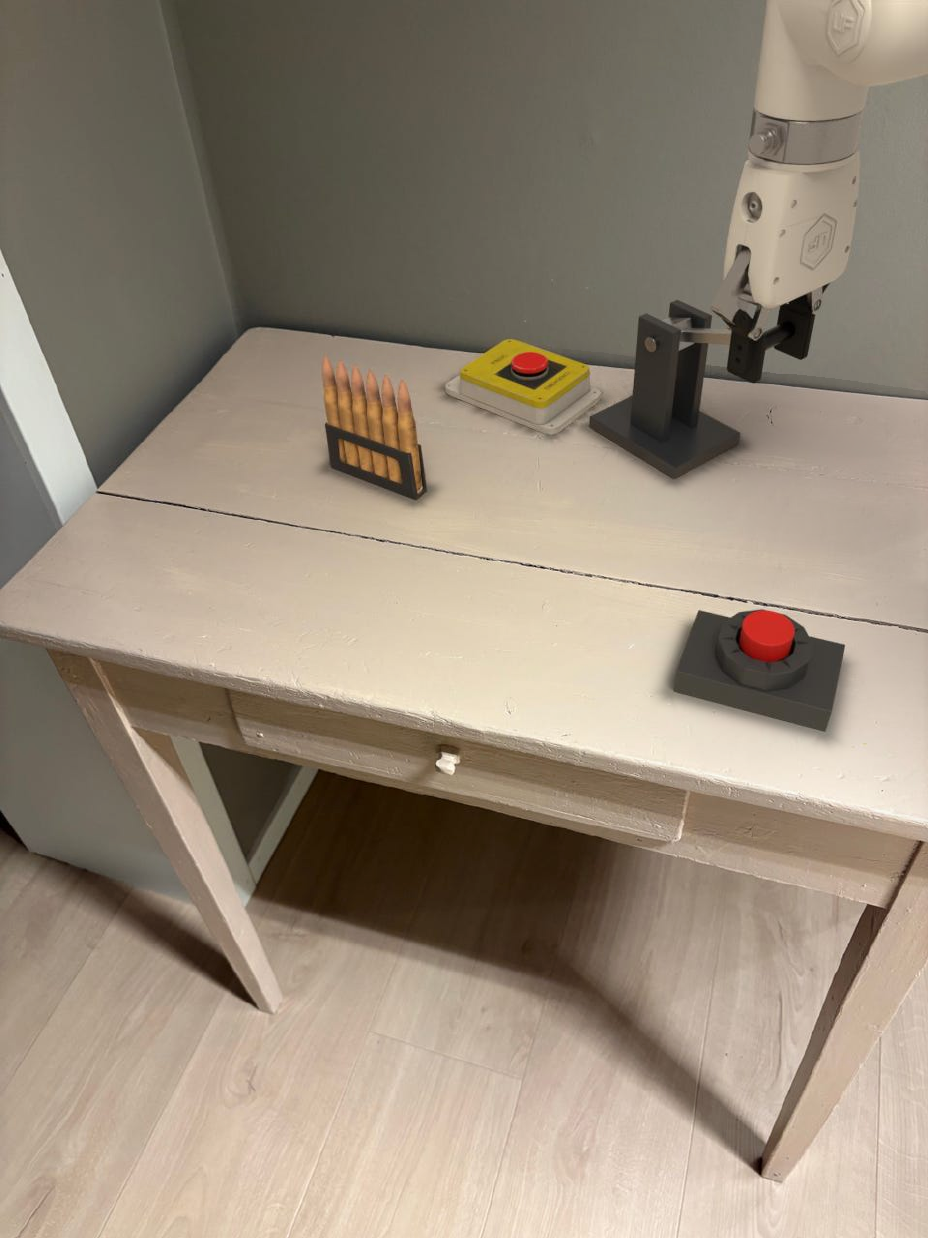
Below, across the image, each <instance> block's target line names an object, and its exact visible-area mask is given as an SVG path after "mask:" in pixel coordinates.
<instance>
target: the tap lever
mask: <svg viewBox="0 0 928 1238" xmlns="http://www.w3.org/2000/svg"><path fill="white" fill-rule="evenodd" d="M668 317H669V316H668ZM668 317H667V318H664V319H662V320H661V321H663V322H665V323H668V324H670V325H672V326H674V327H676V328H678V329H680V330H681V335H680V344H679V351H680V350H682V349H684V348H686V347H688V346H690V345H692V344H694V343H708V345H709V344H711V345H726V346H730V339H731V330H729V329H728V328H726V329H725V328H711V329H707V328H692V322H691V318H677V317H669V318H668ZM794 334H795V327H794V325H793V324H792V323H791V322H789V321H786V322H783V323H781V324H779V325H777V324H776V325H775V326H773V327H771V328H769V329H767V330H764V331H763V334H762V336H764V337H767V344H766V350H765V352H766V351H767V350H770V349H772V348H774V346H776V345H778V344H780V343H782V342H784V341H786V340H788V339H790V338H792V337H793V336H794Z"/></svg>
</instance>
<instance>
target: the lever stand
mask: <svg viewBox="0 0 928 1238" xmlns="http://www.w3.org/2000/svg"><path fill="white" fill-rule="evenodd" d="M668 307H669V309H668V317H667V318H669V317H677V318H691V322H692V328H707V329H712V328H711V327H712V321H713V315H712V314H709V313H708V312H705V311H703V310H701V309H699V308H697V307H695V306H692V305H690V304H688V303H686V302H684V301H681V300H679V299H675V300H673V301H671V302H669V306H668ZM680 335H681V330H680V329H678V328H676V327H674V326H672V325H670V324H668V323H665V322H663V321H662V320H661V319H660V318H657V317H655V316H652V315H651V314H649V313H647V312H646V313H643V314H641V315H639V316H638V320H637V334H636V347H635V360H634V372H633V374H634V375H633V384H632V395H631V396H629V397H626V398H624V399H622V400H620V401H618V402H615V403H614V404H612V405H609V406H608V407H605V408H604V409H602V410H600V411H598V412H595V413H593V414H591V415H589V419H588V420H589V422H588V427H589V428H590V429H592V430H593V431H595V432H597V433H598V434H600V435H601V436H603V437H605V438H606V439H608V440H610V441H611V442H613V443H615V444H616V445H618V446H619V447H621V448H622V449H624V450H626V451H627V452H629V453H631V454H632V455H634V456H635V457H637V458H639V459H641V460H643V461H644V462H646V464H649V465H651V466H652V467H654V468H656V469H657V470H658V471H660V472H662V473H663V474H665V475H667V476H669V477H670V478H672V480H673V479H674V480H675V479H677V478H679V477H681V476H683V475H685V474H686V473H688V472H690V471H692V470H694V469H696V468H698V467H699V466H701V465H703V464H704V463H706V462H709V461H710V460H712V459H715V457H717V456H719V455H722V454H723V453H725V452H726V451H729V450H731V449H732V448H734V447H735V446H737V445H739V444H740V441H741V431H738V430H736V429H735V428H733V427H731V426H729V425H727V424H725V423H723V422H721V421H719V420H718V419H716V418H715V417H712V416H711V415H709V414H707V413H705V412H703V411H701V410H700V409H701V404H702V403H701V402H702V395H703V387H704V380H705V372H706V365H707V357H708V351H709V344H708V343H694V344H692V345H690V346H688V347H686V348H684V349H682V350H680V351H679V344H680Z"/></svg>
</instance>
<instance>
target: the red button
mask: <svg viewBox="0 0 928 1238" xmlns="http://www.w3.org/2000/svg"><path fill="white" fill-rule="evenodd" d="M782 614H783V613H780V612H778V611H773V610H767V609H763V611H756V612H753V613H751V614H749V615H748V616H747V617H746V618H745V619H744V621H743V625H742V630H741V635H740V640H739V643H740V647H741V649H742V650H743V651H744V653H745V654H747V655H748V656H749V657H751V658H753V659H757V660H761V661H765V662H775V661H779V660H782V659H783V658H785V657H786V656H787V655H788V654H789V652H790V649H791V645H792V641H793V637H794V633H795V629H794V626H793V624H792V622H791V621H790V620H789V619H788V618H786V617H785V616H783V615H782Z"/></svg>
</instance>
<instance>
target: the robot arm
mask: <svg viewBox="0 0 928 1238" xmlns="http://www.w3.org/2000/svg"><path fill="white" fill-rule="evenodd" d="M761 36H762V37H761V44H760V53H759V60H758V68H757V77H756V83H755V84H756V85H755V90H754V91H755V92H754V99H753V100H754V101H753V108H752V116H751V124H750V132H749V138H748V148H747V158H748V159H747V160H745V161H744V165H743V168H742V172H741V176H740V179H739V183H738V187H737V191H736V194H735V199H734V203H733V208H732V211H731V217H730V221H729V228H728V232H727V233H728V234H727V238H726V247H725V252H724V260H723V271H722V272H723V273H722V283H721V285H720V287H718V290H717V292H716V294H715V295H714V297H713V298H712V300H711V303H710V306H709V307H710V311H712V313H714V314H715V315H717V316H718V317H719V318H721V320H722V321H723V322H724V323H725V324H726V329H729V330H731V339H730V345H729V347H728V354H727V363H726V370H727V372H728V373H729V374H732V375H733V376H736V377H738V378H740V379H742V380H744V381H747V382H748V383H750V384H752V385H753V384H757V383H758V382H760V381H761V379H762V376H763V368H764V361H765V357H766V356H765V355H766V351H767V350H766V344H767V337H764V336H762V334H763V331H765V327H766V325H767V322H768V319H769V316H770V313H771V310H772V309H775V308H778V307H779V310H778V315H777V320H776V321H777V322H776V326H777V325H779V324H781V323H783V322H786V321H789V322H791V323H792V324H793V325H794V327H795V334H794V336H793V337H792V338H790V339H788V340H786V341H784V342H782V343H780V344H778V345H776V346H774V347H773V349H774V350H776V351H777V352H781V353H783V354H785V355H787V356H790V357H792V358H795V359H797V360H799V361H801V360H804V359H806V358H807V357H808V355H809V350H810V346H811V340H812V334H813V330H814V324H815V319H816V314H815V313H817V312H819V310H820V309H821V307H822V306H823V294H824V293H825V291H826V290H827V288H828V287H829V285H830V284H831V283H832V282H834V281H836V280H837V279H839V277H841V276H842V275H843V274H844V272H845V270H846V269H847V265H848V262H849V257H850V252H851V247H852V240H853V235H854V229H855V222H856V216H857V215H856V214H857V206H858V199H859V198H858V197H859V189H860V175H861V173H860V172H861V155H860V153H861V151H860V147H859V146H858V144H859V139H860V134H861V129H862V123H863V118H864V114H865V113H864V112H865V110H866V109H865V108H866V104H867V98H868V93H869V89H870V87H879V86H886V85H890V84H894V83H899V82H902V81H907V80H911V79H915V78H920V77H922V76H926V75H928V0H766V5H765V11H764V19H763V29H762V35H761ZM749 304H752V305H754V306H756V308H755V311H754V314H753V317H752V316H751V315H750V314H749V313H748V312H747V308H748V305H749ZM765 350H766V351H765Z"/></svg>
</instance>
